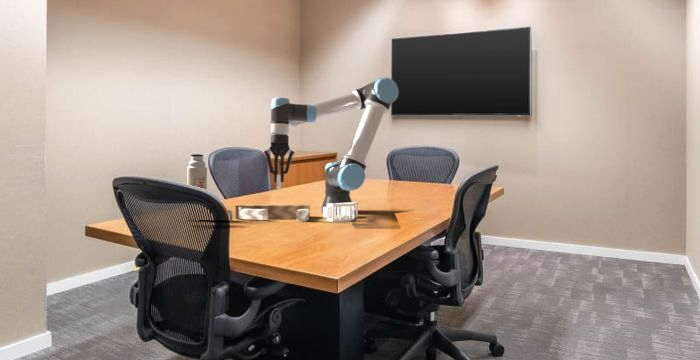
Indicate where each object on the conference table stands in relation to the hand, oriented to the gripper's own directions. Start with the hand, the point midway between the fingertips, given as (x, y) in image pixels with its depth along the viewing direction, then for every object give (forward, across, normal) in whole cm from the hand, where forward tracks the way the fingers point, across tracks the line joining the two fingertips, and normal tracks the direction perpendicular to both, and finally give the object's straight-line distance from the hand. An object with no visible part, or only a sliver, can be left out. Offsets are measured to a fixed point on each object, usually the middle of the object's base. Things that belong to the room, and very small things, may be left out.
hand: (278, 190), depth 217 cm
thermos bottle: (+14, +34, +1) cm, 37 cm away
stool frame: (+13, +4, -10) cm, 17 cm away
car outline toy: (+13, -27, -6) cm, 31 cm away
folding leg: (+13, +17, -5) cm, 22 cm away
